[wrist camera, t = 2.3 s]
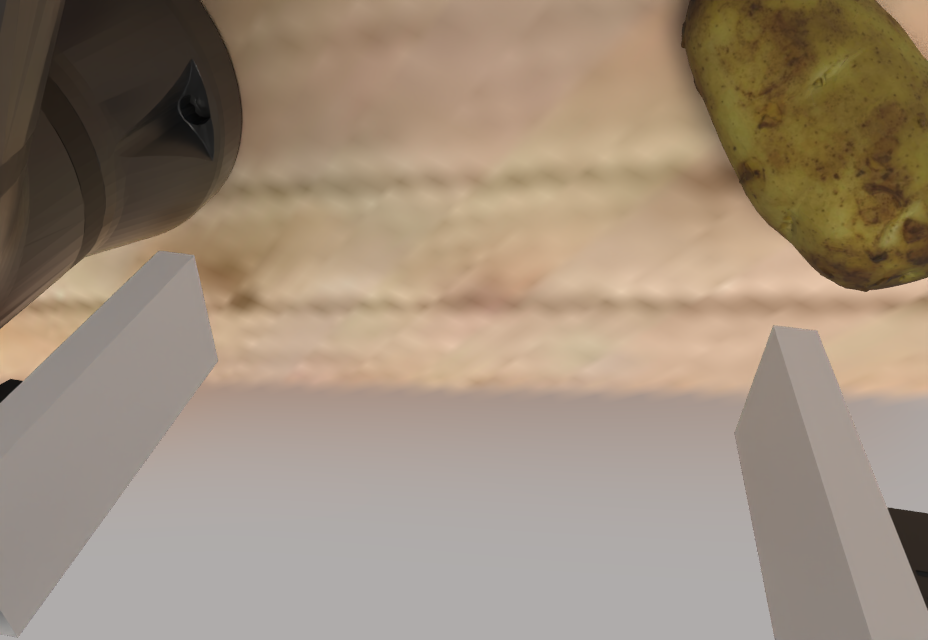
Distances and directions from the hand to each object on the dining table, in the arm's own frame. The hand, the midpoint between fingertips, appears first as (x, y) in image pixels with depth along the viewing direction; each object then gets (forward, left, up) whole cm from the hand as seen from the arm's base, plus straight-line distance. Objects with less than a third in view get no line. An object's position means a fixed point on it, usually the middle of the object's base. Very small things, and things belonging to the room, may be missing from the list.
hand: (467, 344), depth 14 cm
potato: (+8, -8, -20) cm, 23 cm away
